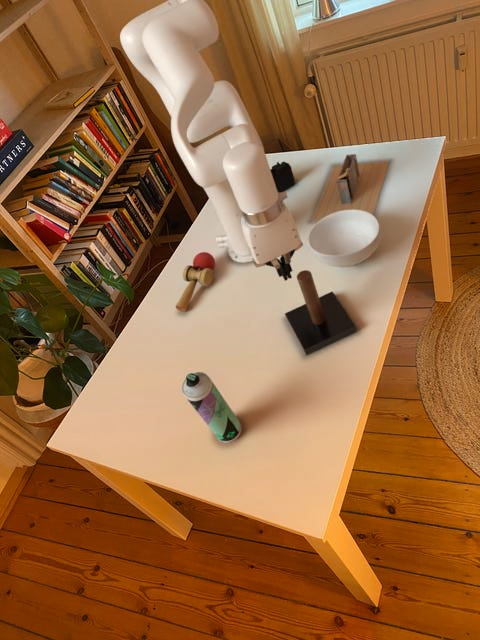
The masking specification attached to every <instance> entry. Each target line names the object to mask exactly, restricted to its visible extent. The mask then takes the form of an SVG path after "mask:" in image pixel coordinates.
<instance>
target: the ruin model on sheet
mask: <svg viewBox="0 0 480 640" xmlns="http://www.w3.org/2000/svg"><path fill="white" fill-rule="evenodd" d="M390 162H391V161H390V160H386V161H374V162H373V161H372V162H360V163H358V157H357V153H353V154H346V155H345V158H344V160H343V163H342V164H335V165H333V166H332V168H331V171H330V174H329V176H328V178H327V180H326V184H325V186H324V188H323V191H322V193H321V196H320V199H319V201H318V203H317V206H316V208H315V211H314V213H313V217H312V219H311V222H318V221H320V220H321V219H322V218H324V217H326V216H328V215H330V214H332V213H335V212H339V211H343V210H362V211H366V212H369V213H370V214H372V215H373V216H375V211H376V208H377V205H378V201H379V198H380V195H381V191H382V188H383V185H384V181H385V179H386V175H387V172H388V169H389V165H390Z"/></svg>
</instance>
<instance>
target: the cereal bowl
mask: <svg viewBox="0 0 480 640" xmlns="http://www.w3.org/2000/svg"><path fill="white" fill-rule="evenodd" d="M380 241H381V226H380V222H379V220H378V218H377V217H376V216H375V215H372V214H370V213H369V212H366V211H362V210H343V211H339V212H335V213H332V214H330V215H328V216H326V217H324V218H322V219H321V220H320V221H316V223H315V224H314V225H313V226H312V227H311V229H310V230H309V233H308V236H307V243H308V246H309V249H310V251H311V253H312V255H313V256H314V258H315V259H316V260H317V261H319V262H320V263H321V264H324V265H326V266H330V267H333V268H347V267H352V266H355V265H358V264H360V263H362V262H364V261H366V260H367V259H368V258H369V257H371V256H372V255H373V254H374V252H376V250H377V248H378V246H379V245H380Z"/></svg>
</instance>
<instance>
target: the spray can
mask: <svg viewBox="0 0 480 640" xmlns="http://www.w3.org/2000/svg"><path fill="white" fill-rule="evenodd" d="M181 391H182V394H183V395H184V397H185V398H186V400H187V401H188V403H189V404H190V405H191V406H192V407H193V408H194V410H195V412H197V414H198V415H199V416H200V418H201V419H202V420H203V421H204V422H205V424H206V425H207V427H208V428H209V429H210V430H211V432H212V433H213V434H214V436H215V437H216V438H217V439H218V440H219V441H220V442H221V443H225V444H228V443H233V442H234V441H236V440H237V439H239V437H240V435H241V432H242V429H243V428H242V427H243V426H242V424H241V422H240V420H239V418H238V417H237V416H236V414H235V413H234V411H233V410H232V408H231V407H230V405H229V404H228V402H227V401H226V399H225V398H224V396H223V395H222V394H221V392H220V390H219V389H218V387H217V386H216V385H215V383H214V382H213V380H212V379H211V377H210V376H209V375H208V374H207V373H205V372H202V371H197V372H191V373H188V374H187V375H186V377H185V379H184V380H183V382H182V385H181Z"/></svg>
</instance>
